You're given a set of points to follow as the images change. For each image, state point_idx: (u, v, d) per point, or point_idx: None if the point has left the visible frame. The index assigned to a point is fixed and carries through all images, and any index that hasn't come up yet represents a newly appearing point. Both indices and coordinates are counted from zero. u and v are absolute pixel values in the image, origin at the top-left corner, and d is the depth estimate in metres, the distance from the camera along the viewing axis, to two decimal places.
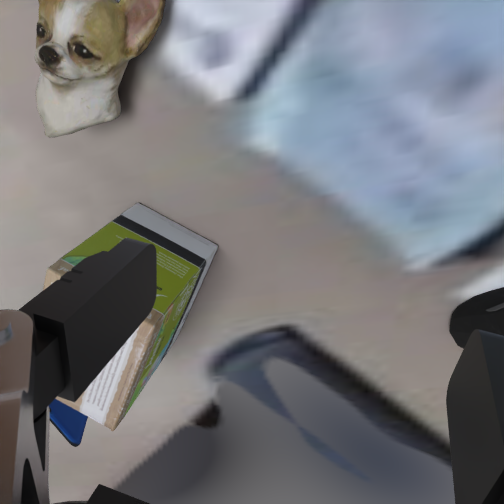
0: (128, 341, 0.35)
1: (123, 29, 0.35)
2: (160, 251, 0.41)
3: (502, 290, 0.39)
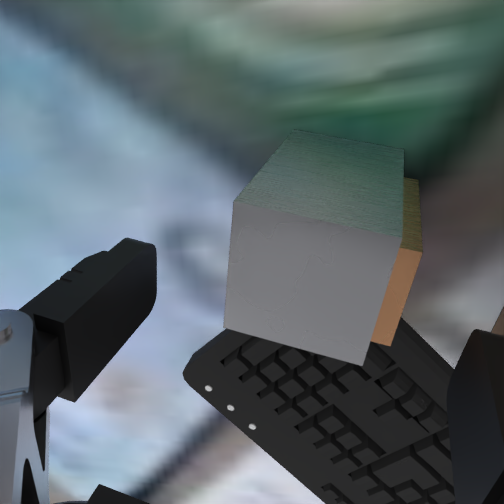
0: None
1: None
2: None
3: None
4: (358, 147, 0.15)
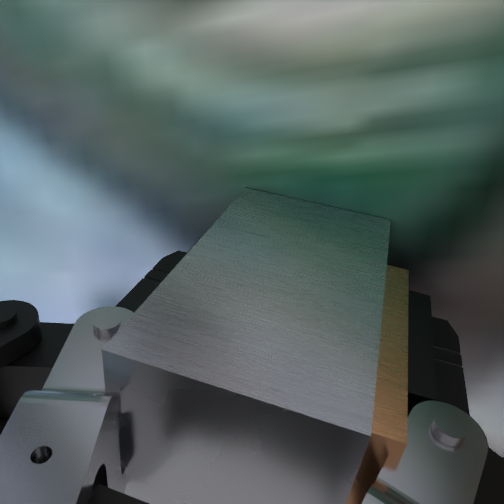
0: None
1: None
2: None
3: None
4: (328, 218, 0.11)
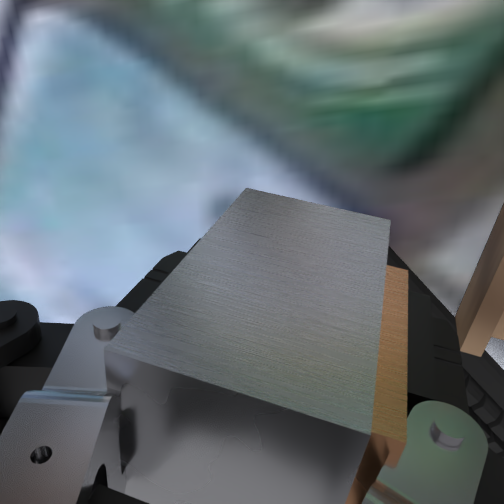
0: None
1: None
2: None
3: None
4: (328, 219, 0.11)
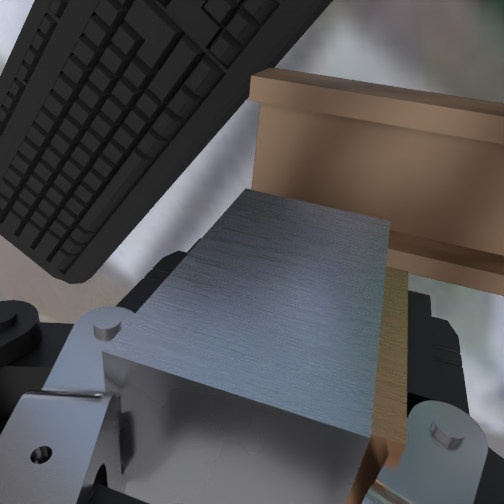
0: None
1: None
2: None
3: None
4: (327, 220, 0.11)
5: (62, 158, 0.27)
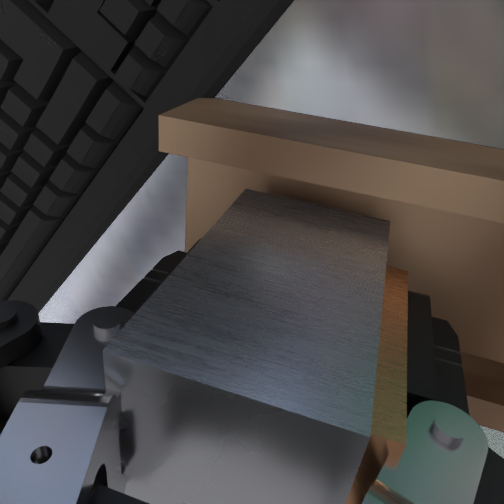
0: None
1: None
2: None
3: None
4: (328, 220, 0.11)
5: None
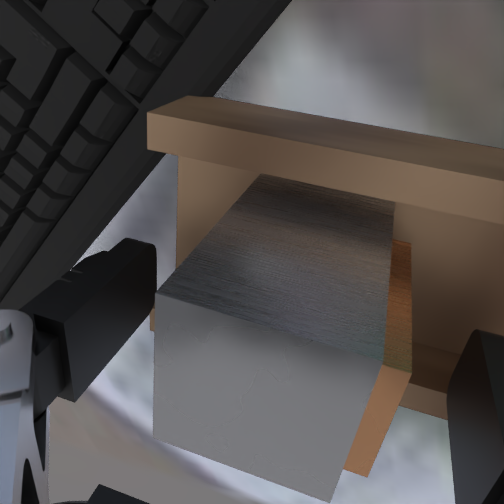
0: None
1: None
2: None
3: None
4: (339, 198, 0.13)
5: None
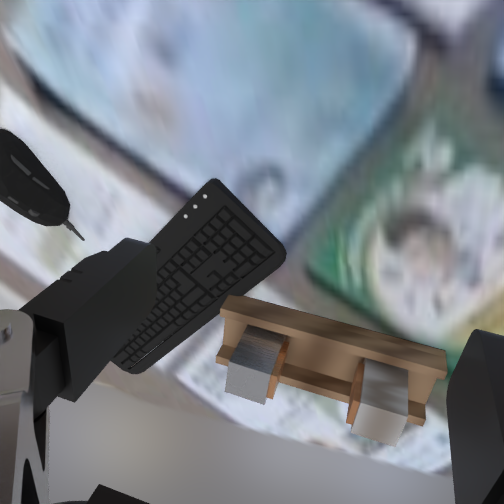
0: None
1: None
2: None
3: (36, 161, 0.47)
4: None
5: None
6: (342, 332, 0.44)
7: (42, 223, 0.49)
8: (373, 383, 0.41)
